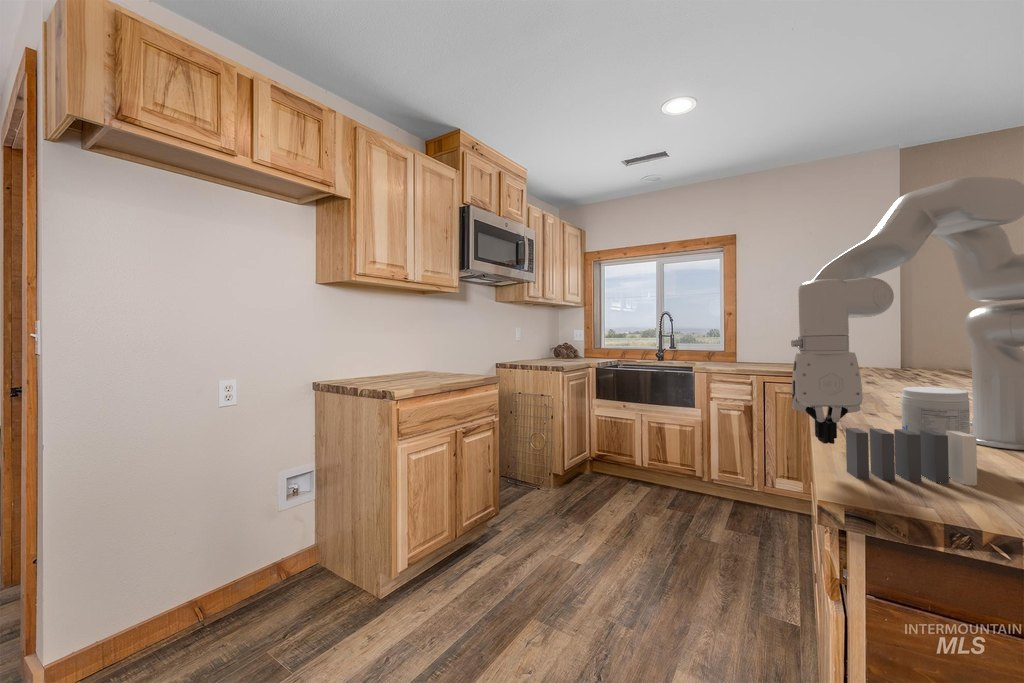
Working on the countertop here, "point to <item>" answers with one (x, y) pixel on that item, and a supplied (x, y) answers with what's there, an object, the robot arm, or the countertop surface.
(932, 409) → the supplement tub
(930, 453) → the domino
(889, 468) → the domino
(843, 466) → the countertop surface
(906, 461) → the domino
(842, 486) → the countertop surface
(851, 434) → the domino
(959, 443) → the domino
